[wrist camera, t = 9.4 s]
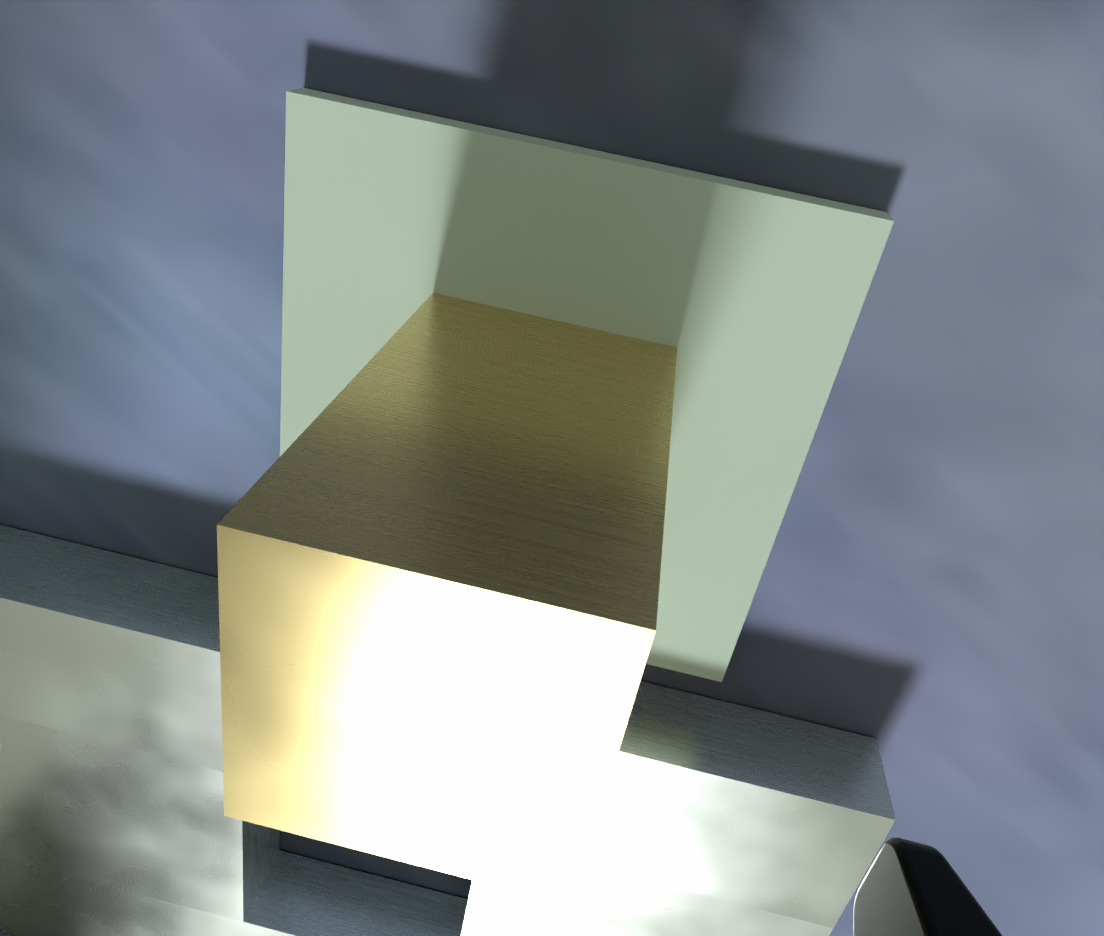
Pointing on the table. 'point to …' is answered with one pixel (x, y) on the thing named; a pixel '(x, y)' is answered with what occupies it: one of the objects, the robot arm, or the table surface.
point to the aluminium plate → (338, 892)
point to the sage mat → (588, 306)
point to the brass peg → (451, 597)
